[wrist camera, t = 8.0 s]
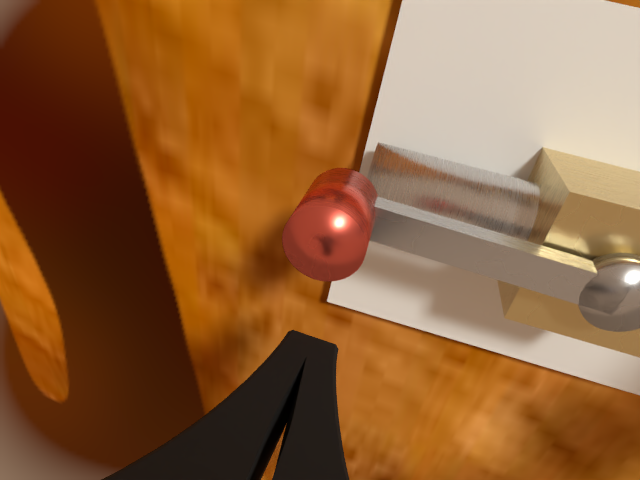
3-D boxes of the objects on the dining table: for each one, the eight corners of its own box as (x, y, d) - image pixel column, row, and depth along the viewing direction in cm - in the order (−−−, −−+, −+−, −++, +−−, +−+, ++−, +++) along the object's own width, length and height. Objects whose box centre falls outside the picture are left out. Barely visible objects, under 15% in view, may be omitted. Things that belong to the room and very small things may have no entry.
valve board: (969, 81, 15) (1002, 87, 14) (689, 396, 22) (698, 413, 22) (414, -40, 17) (412, -42, 16) (330, 290, 24) (326, 301, 23)
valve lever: (675, 264, 14) (727, 327, 11) (631, 323, 15) (668, 391, 13) (316, 159, 15) (290, 195, 12) (302, 222, 16) (275, 266, 14)
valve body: (854, 225, 16) (976, 297, 13) (759, 330, 19) (838, 415, 15) (388, 108, 18) (374, 140, 14) (358, 218, 21) (340, 270, 17)
